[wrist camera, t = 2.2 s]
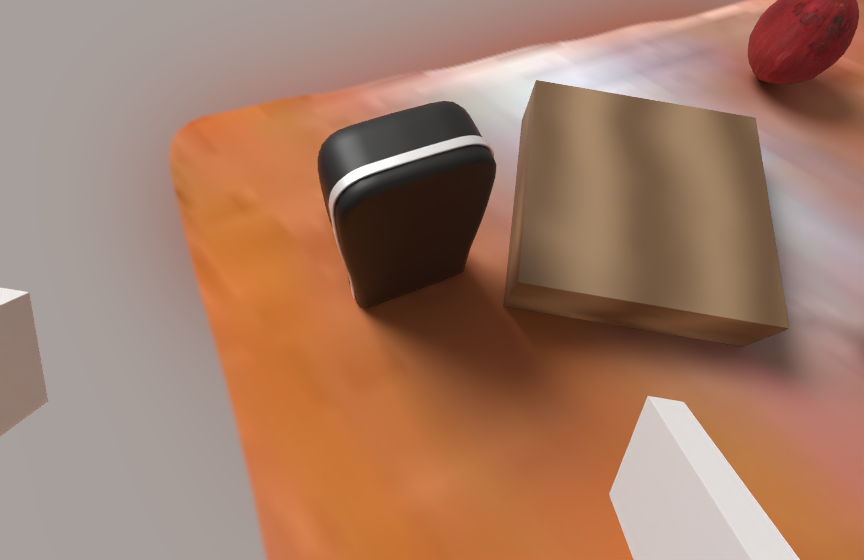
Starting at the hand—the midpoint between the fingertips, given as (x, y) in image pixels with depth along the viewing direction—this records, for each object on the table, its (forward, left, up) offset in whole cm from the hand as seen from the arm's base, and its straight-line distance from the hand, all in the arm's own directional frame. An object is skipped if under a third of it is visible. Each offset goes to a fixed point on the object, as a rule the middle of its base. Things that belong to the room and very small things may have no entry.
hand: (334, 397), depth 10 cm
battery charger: (0, -10, -15) cm, 18 cm away
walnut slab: (-13, -16, -15) cm, 25 cm away
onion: (-24, -31, -15) cm, 42 cm away
